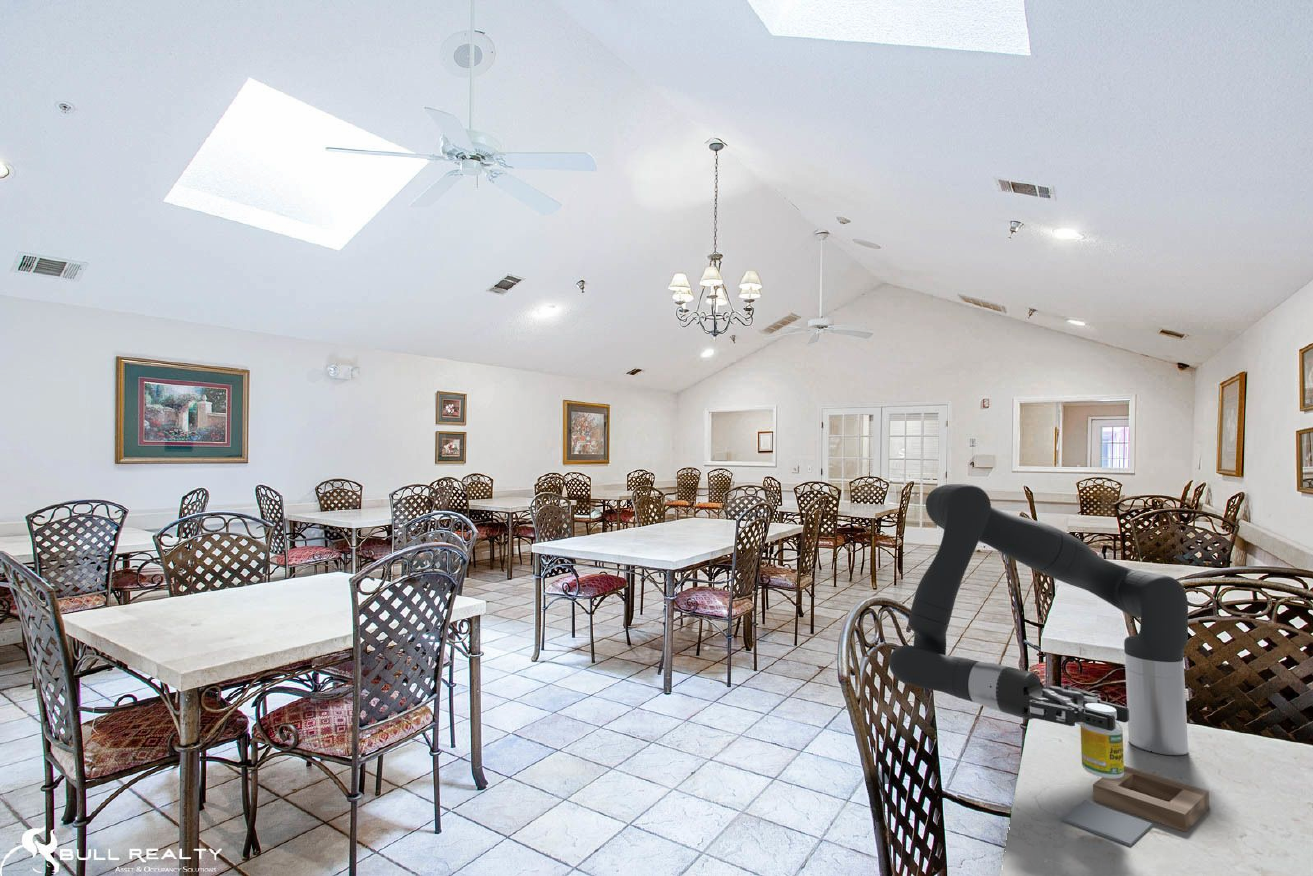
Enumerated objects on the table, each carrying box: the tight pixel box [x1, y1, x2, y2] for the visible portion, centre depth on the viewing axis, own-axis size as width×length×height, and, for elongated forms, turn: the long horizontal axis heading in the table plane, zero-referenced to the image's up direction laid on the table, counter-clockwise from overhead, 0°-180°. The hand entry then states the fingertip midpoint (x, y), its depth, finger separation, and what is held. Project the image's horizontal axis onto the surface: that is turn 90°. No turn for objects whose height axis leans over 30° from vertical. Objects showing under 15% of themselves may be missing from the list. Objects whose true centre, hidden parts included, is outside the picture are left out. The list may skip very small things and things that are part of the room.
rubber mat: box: [1060, 799, 1153, 848], centre depth 99 cm, size 9×9×1 cm
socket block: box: [1092, 765, 1211, 833], centre depth 105 cm, size 12×12×2 cm
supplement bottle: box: [1079, 702, 1125, 779], centre depth 100 cm, size 5×5×10 cm
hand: (1120, 719), depth 98 cm, fingers closed on supplement bottle, 5 cm apart
